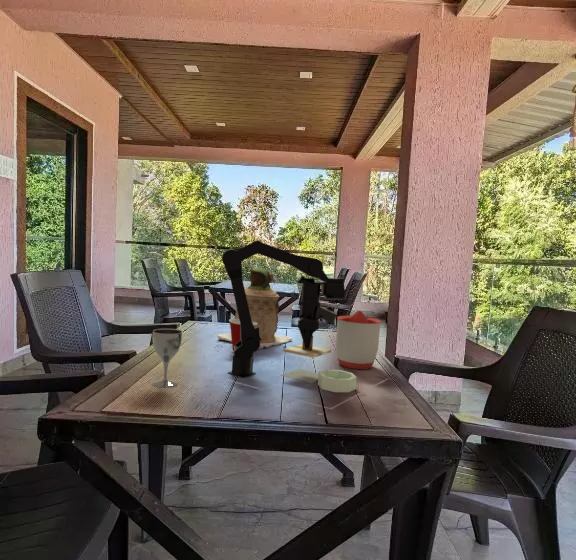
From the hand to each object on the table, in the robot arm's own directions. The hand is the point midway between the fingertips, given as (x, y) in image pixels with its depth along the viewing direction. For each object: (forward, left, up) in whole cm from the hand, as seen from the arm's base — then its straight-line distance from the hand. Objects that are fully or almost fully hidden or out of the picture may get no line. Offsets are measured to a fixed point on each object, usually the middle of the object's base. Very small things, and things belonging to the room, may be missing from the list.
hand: (307, 347), depth 146 cm
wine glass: (-36, +24, -10) cm, 45 cm away
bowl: (-3, -13, -10) cm, 16 cm away
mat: (0, 0, -10) cm, 10 cm away
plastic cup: (+11, +35, -10) cm, 38 cm away
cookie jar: (+32, +45, -10) cm, 56 cm away
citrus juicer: (+27, -5, -10) cm, 29 cm away
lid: (0, 0, -2) cm, 2 cm away
